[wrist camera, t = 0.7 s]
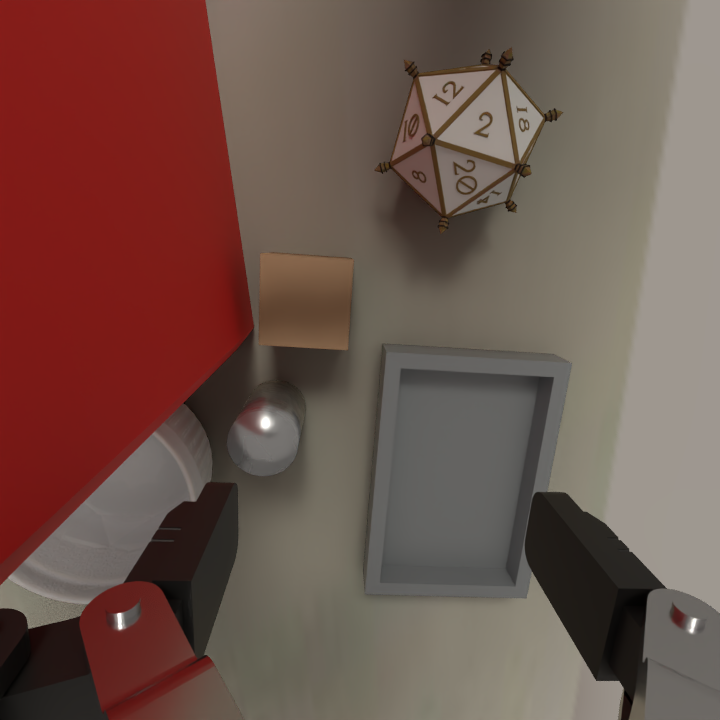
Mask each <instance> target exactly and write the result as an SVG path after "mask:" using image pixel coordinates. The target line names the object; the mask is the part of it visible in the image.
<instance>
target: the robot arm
mask: <svg viewBox="0 0 720 720" xmlns="http://www.w3.org/2000/svg"><path fill="white" fill-rule="evenodd" d="M237 546H238V488H237V484H236V483H217V482H207V483H206V484H205V486H204V488H203V490H202V492H201V493H200V495H199V497H198V499H197V501H196V502H193V501H183V502H182V503H181V504H179V505H178V506H177V507H175V508H174V509H173V510H171V511H170V512H168V513H167V515H166V517H165V518H164V520H163V521H162V523H161V524H160V526H159V529H158V530H157V531H156V532H155V534H154V535H153V537H152V539H151V542H149V543H148V545H147V546H146V548H145V550H144V551H143V553H142V554H141V556H140V557H139V559H138V561H137V562H136V564H135V565H134V567H133V568H132V570H131V572H130V573H129V575H128V576H127V578H126V579H125V581H124V583H123V584H120V585H117V586H114V587H112V588H110V589H107V590H106V591H104V592H102V593H101V594H99V595H98V596H96V597H95V598H94V599H93V600H92V601H91V602H90V603H89V604H88V605H87V606H86V607H85V609H84V610H83V612H82V614H81V616H79V617H76V618H73V619H69V620H65V621H61V622H57V623H52V624H48V625H44V626H39V627H35V628H31V629H28V624H27V619H26V617H25V615H24V614H23V613H22V612H20V611H18V610H14V609H4V608H3V609H0V720H244V718H243V716H242V714H241V712H240V710H239V709H238V707H237V705H236V703H235V701H234V699H233V698H232V696H231V694H230V692H229V690H228V688H227V687H226V685H225V683H224V681H223V679H222V677H221V676H220V674H219V672H218V670H217V668H216V666H215V665H214V663H213V661H212V660H211V659H210V658H209V657H208V656H207V655H204V652H205V649H206V646H207V643H208V640H209V637H210V634H211V631H212V628H213V625H214V622H215V619H216V616H217V613H218V610H219V607H220V604H221V601H222V598H223V595H224V592H225V589H226V586H227V583H228V579H229V576H230V573H231V570H232V567H233V564H234V561H235V558H236V553H237ZM525 555H526V559H527V563H528V565H529V567H530V569H531V570H532V572H533V574H534V576H535V577H536V579H537V581H538V582H539V584H540V586H541V587H542V589H543V591H544V593H545V594H546V596H547V598H548V599H549V601H550V603H551V604H552V606H553V608H554V610H555V611H556V613H557V615H558V616H559V618H560V620H561V621H562V623H563V625H564V627H565V628H566V630H567V632H568V633H569V635H570V637H571V639H572V640H573V642H574V644H575V645H576V647H577V649H578V650H579V652H580V654H581V656H582V657H583V659H584V661H585V662H586V664H587V666H588V667H589V669H590V671H591V672H592V674H593V676H594V678H595V679H596V681H620V683H621V684H622V686H623V688H624V689H623V693H622V697H621V701H620V707H619V716H618V720H720V613H718V612H717V611H716V610H715V609H714V608H712V607H711V606H709V605H708V604H706V603H705V602H703V601H701V600H700V599H698V598H696V597H694V596H691V595H689V594H686V593H683V592H680V591H677V590H672V589H667V588H666V587H665V586H664V585H663V584H662V583H661V582H660V581H659V580H658V579H657V578H656V577H655V576H654V575H653V574H652V573H651V572H650V571H649V569H647V567H646V566H645V565H644V564H643V563H642V562H641V561H640V560H639V559H638V558H637V557H636V556H635V555H634V554H633V553H632V552H629V548H627V546H626V545H625V544H624V543H623V542H622V541H621V540H618V537H617V536H616V535H615V534H614V532H613V531H612V530H611V529H610V528H609V527H608V526H607V525H606V524H605V523H603V522H602V521H600V520H599V519H597V518H595V517H594V516H592V515H591V514H589V513H588V512H583V511H582V510H581V509H580V507H579V506H578V505H577V504H576V503H575V502H574V501H573V500H572V499H571V498H570V496H569V495H568V494H566V493H563V492H536V493H535V494H534V496H533V498H532V502H531V508H530V514H529V520H528V525H527V531H526V537H525ZM203 655H204V656H203Z"/></svg>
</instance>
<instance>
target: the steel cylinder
mask: <svg viewBox="0 0 720 720" xmlns="http://www.w3.org/2000/svg"><path fill="white" fill-rule="evenodd" d="M305 411H306V405H305V400H304V397H303V395H302V394H301V392H300V391H299V390H298V389H297V388H296V387H295V386H294V385H292V384H290V383H288V382H286V381H282V380H270V381H266V382H264V383H262V384H260V385H259V386H257V387H256V388H255V389H254V390H253V392H252V393H251V395H250V397H249V398H248V400H247V402H246V403H245V405H244V407H243V408H242V410H241V412H240V413H239V415H238V417H237V418H236V420H235V422H234V423H233V425H232V427H231V428H230V430H229V433H228V437H227V449H228V452H229V455H230V457H231V459H232V460H233V462H234V463H235V464H236V465H237V466H238V467H239V468H240V469H242V470H243V471H245V472H247V473H249V474H252V475H257V476H271V475H275V474H277V473H280V472H282V471H283V470H285V469H286V468H287V467H289V466H290V464H291V463H292V462H293V460H294V459H295V457H296V454H297V451H298V446H299V441H300V436H301V431H302V426H303V421H304V416H305Z"/></svg>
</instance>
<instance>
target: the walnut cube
mask: <svg viewBox="0 0 720 720" xmlns="http://www.w3.org/2000/svg"><path fill="white" fill-rule="evenodd" d="M353 266H354V260H353V259H352V258H343V257H329V256H316V255H302V254H289V253H275V252H272V253H260V302H259V345H269V346H285V347H302V348H318V349H335V350H348V340H349V325H350V311H351V296H352V281H353Z"/></svg>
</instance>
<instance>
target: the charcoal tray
mask: <svg viewBox="0 0 720 720" xmlns="http://www.w3.org/2000/svg"><path fill="white" fill-rule="evenodd" d="M571 366H572V363H571V362H569V361H567V360H565V359H563V358H561V357H559V356H556V355H554V354H543V353H527V352H511V351H494V350H478V349H462V348H446V347H429V346H413V345H397V344H383V346H382V357H381V369H380V380H379V392H378V404H377V415H376V427H375V438H374V450H373V461H372V473H371V484H370V496H369V507H368V519H367V531H366V542H365V554H364V565H363V575H364V588H365V594H376V595H415V596H454V597H493V598H527V593H528V588H529V583H530V578H531V573H532V570H531V569H530V567H529V565H528V563H527V559H526V555H525V537H526V531H527V525H528V520H529V514H530V508H531V502H532V498H533V496H534V494H535V493H536V492H547V490H548V485H549V480H550V474H551V469H552V464H553V459H554V454H555V449H556V443H557V438H558V433H559V428H560V423H561V418H562V412H563V407H564V402H565V397H566V392H567V387H568V381H569V376H570V371H571Z"/></svg>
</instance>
